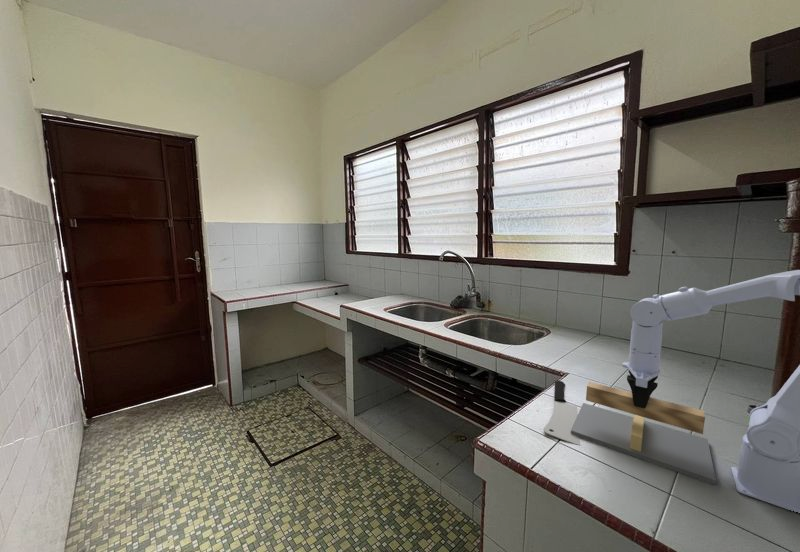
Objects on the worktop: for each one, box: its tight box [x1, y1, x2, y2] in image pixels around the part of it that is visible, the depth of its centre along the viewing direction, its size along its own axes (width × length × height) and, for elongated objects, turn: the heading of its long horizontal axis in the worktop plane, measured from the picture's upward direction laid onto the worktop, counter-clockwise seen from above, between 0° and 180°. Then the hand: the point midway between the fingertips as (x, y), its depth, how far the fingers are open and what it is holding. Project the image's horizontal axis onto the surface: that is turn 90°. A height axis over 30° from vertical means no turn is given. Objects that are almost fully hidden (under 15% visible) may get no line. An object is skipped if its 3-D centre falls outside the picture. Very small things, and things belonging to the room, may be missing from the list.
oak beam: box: [585, 381, 706, 435], centre depth 75 cm, size 22×3×4 cm, turn 51°
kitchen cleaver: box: [543, 380, 581, 446], centre depth 90 cm, size 31×2×10 cm
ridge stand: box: [571, 402, 717, 486], centre depth 77 cm, size 26×16×4 cm, turn 50°
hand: (639, 403), depth 75 cm, fingers closed on oak beam, 3 cm apart
